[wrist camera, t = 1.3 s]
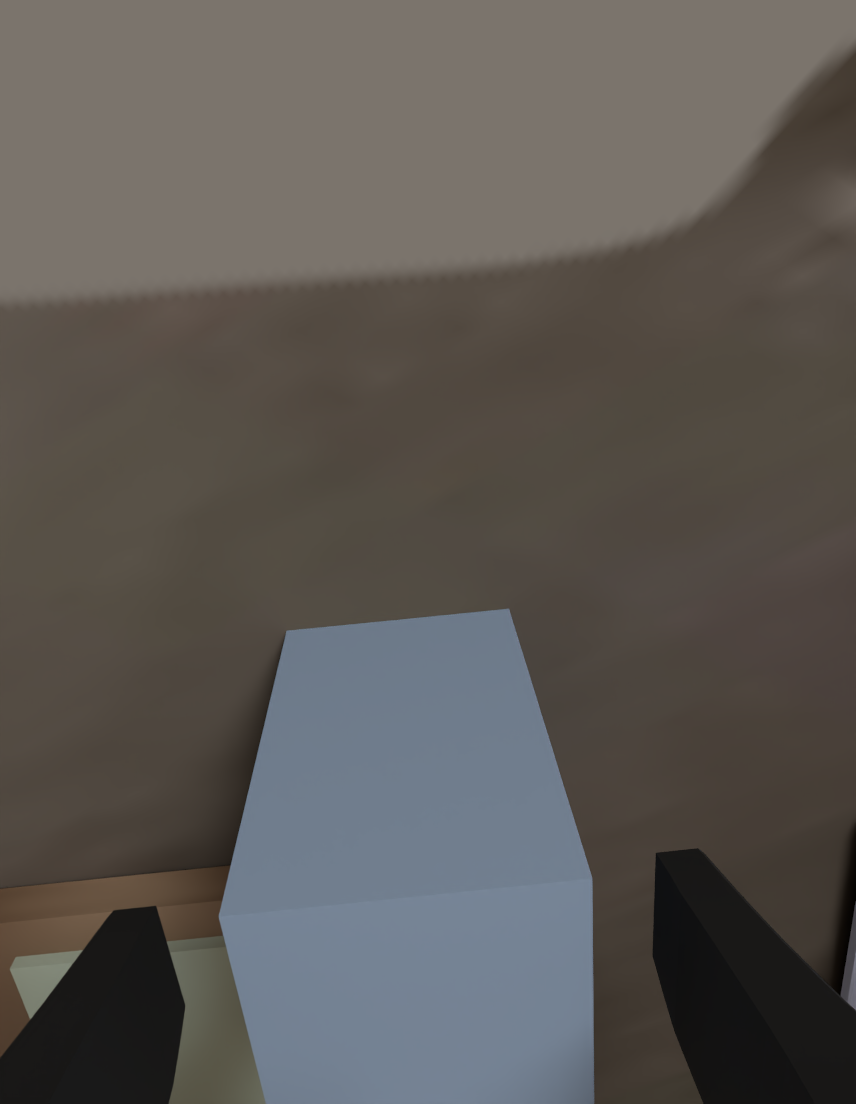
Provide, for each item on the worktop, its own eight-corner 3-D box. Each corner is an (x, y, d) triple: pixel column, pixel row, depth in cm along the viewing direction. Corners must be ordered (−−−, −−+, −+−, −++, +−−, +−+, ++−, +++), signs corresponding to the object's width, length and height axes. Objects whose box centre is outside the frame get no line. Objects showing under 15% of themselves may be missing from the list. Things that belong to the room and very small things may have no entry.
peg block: (508, 608, 16) (592, 877, 9) (517, 787, 18) (594, 1118, 11) (286, 631, 16) (218, 917, 9) (317, 807, 18) (278, 1151, 11)
